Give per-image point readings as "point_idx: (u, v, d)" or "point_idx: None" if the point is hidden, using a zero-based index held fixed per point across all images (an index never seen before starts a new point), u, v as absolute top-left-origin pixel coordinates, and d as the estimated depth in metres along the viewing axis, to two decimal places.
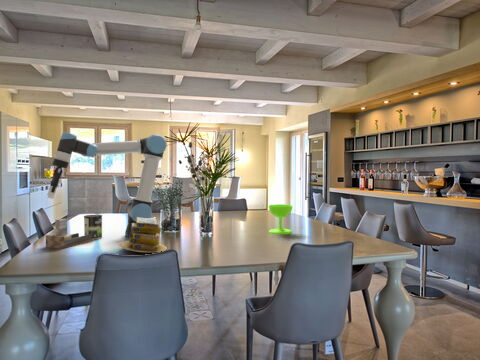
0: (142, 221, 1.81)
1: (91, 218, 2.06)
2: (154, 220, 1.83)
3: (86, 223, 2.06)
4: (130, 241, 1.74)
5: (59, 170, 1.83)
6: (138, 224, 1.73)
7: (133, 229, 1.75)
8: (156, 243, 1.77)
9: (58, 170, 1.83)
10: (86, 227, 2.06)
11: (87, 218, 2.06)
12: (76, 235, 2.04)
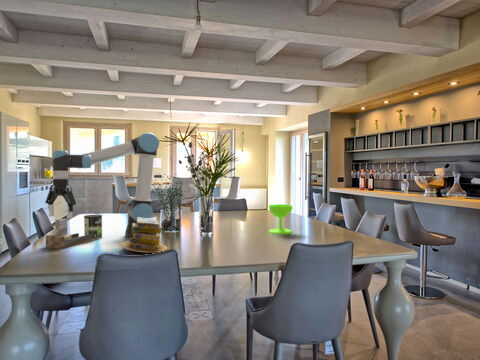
0: (143, 221, 1.81)
1: (91, 218, 2.06)
2: (155, 220, 1.83)
3: (86, 223, 2.06)
4: (131, 241, 1.74)
5: (69, 189, 1.86)
6: (139, 224, 1.73)
7: (134, 229, 1.75)
8: (157, 243, 1.77)
9: (69, 189, 1.86)
10: (86, 227, 2.06)
11: (87, 218, 2.06)
12: (76, 235, 2.04)
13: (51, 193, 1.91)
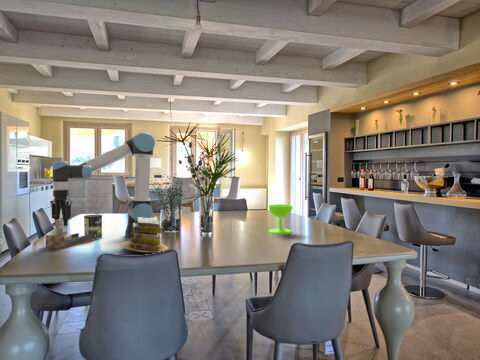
0: (143, 221, 1.81)
1: (91, 218, 2.06)
2: (155, 220, 1.84)
3: (86, 223, 2.06)
4: (131, 241, 1.74)
5: (69, 203, 1.87)
6: (139, 224, 1.73)
7: (134, 229, 1.75)
8: (157, 243, 1.77)
9: (68, 203, 1.86)
10: (86, 227, 2.06)
11: (87, 218, 2.06)
12: (76, 235, 2.04)
13: (54, 206, 1.90)
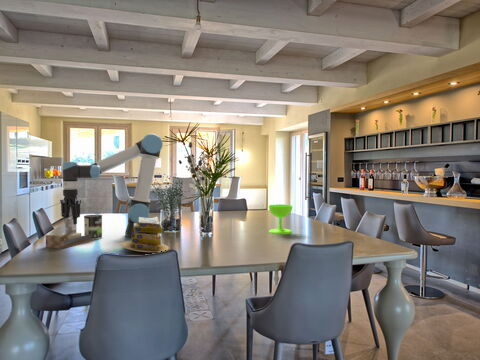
0: (144, 221, 1.81)
1: (91, 218, 2.06)
2: (156, 220, 1.84)
3: (86, 223, 2.06)
4: (132, 241, 1.74)
5: (79, 202, 1.93)
6: (140, 224, 1.74)
7: (135, 229, 1.76)
8: (158, 243, 1.77)
9: (78, 202, 1.92)
10: (86, 227, 2.06)
11: (87, 218, 2.06)
12: None
13: (63, 205, 1.96)
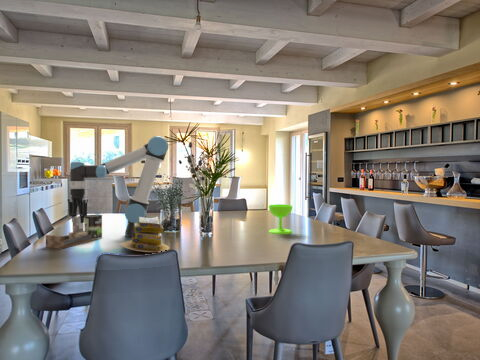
0: (145, 221, 1.82)
1: (91, 218, 2.06)
2: (156, 220, 1.84)
3: (86, 223, 2.06)
4: (133, 241, 1.74)
5: (86, 201, 1.97)
6: (141, 224, 1.74)
7: (136, 229, 1.76)
8: (159, 243, 1.77)
9: (85, 201, 1.97)
10: (86, 227, 2.06)
11: (87, 218, 2.06)
12: None
13: (71, 204, 2.01)
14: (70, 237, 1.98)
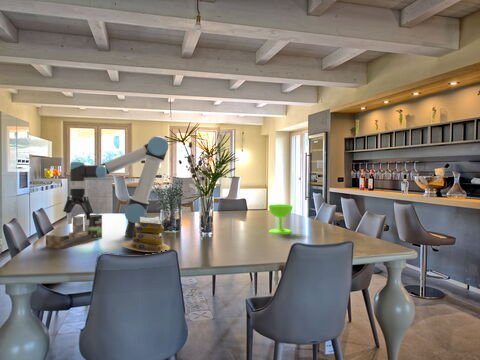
0: (145, 221, 1.82)
1: (91, 218, 2.06)
2: (157, 220, 1.84)
3: None
4: (133, 241, 1.75)
5: (86, 198, 1.97)
6: (141, 224, 1.74)
7: (136, 229, 1.76)
8: (159, 243, 1.78)
9: (86, 198, 1.97)
10: (86, 227, 2.06)
11: None
12: None
13: (69, 202, 2.02)
14: (70, 237, 1.98)
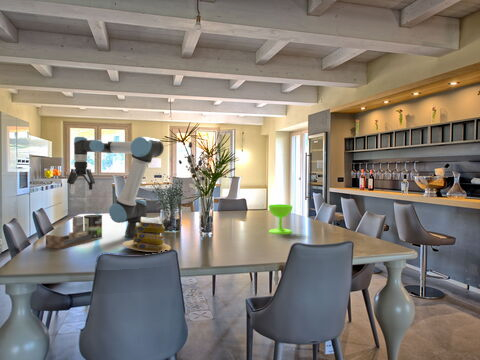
0: (146, 221, 1.82)
1: (91, 218, 2.06)
2: (158, 220, 1.85)
3: (86, 223, 2.06)
4: (134, 240, 1.75)
5: (89, 170, 2.16)
6: (142, 224, 1.74)
7: (137, 229, 1.76)
8: (160, 242, 1.78)
9: (89, 170, 2.16)
10: (86, 227, 2.06)
11: (87, 218, 2.06)
12: None
13: (72, 174, 2.20)
14: (70, 237, 1.98)
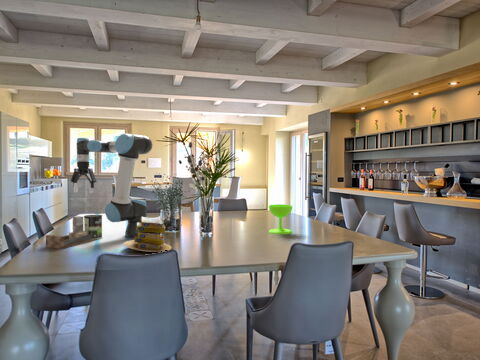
0: (147, 221, 1.82)
1: (91, 218, 2.06)
2: (159, 220, 1.85)
3: (86, 223, 2.06)
4: (135, 240, 1.75)
5: (91, 169, 2.27)
6: (143, 224, 1.75)
7: (138, 228, 1.76)
8: (161, 242, 1.78)
9: (90, 170, 2.27)
10: (86, 227, 2.06)
11: (87, 218, 2.06)
12: None
13: (75, 173, 2.31)
14: (70, 237, 1.98)
